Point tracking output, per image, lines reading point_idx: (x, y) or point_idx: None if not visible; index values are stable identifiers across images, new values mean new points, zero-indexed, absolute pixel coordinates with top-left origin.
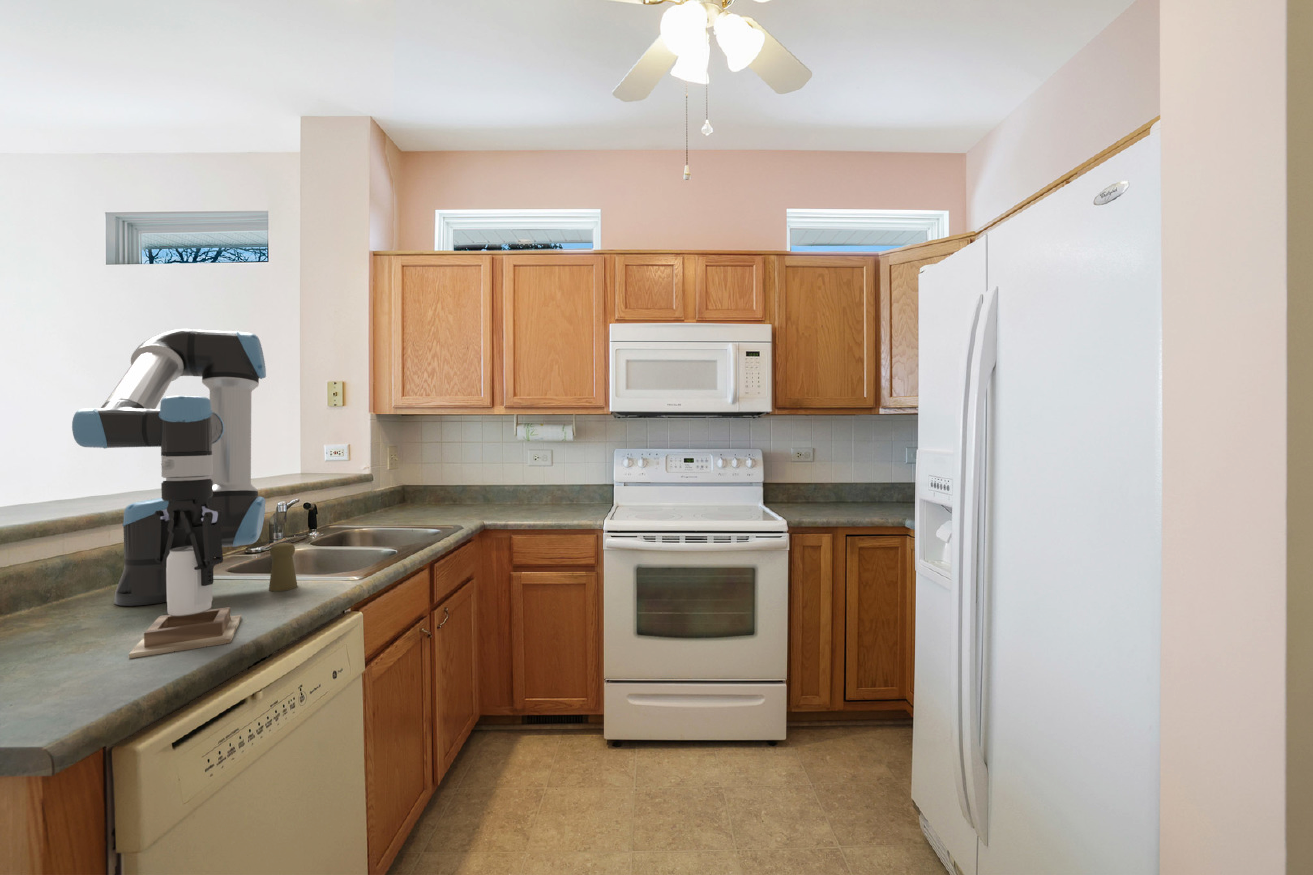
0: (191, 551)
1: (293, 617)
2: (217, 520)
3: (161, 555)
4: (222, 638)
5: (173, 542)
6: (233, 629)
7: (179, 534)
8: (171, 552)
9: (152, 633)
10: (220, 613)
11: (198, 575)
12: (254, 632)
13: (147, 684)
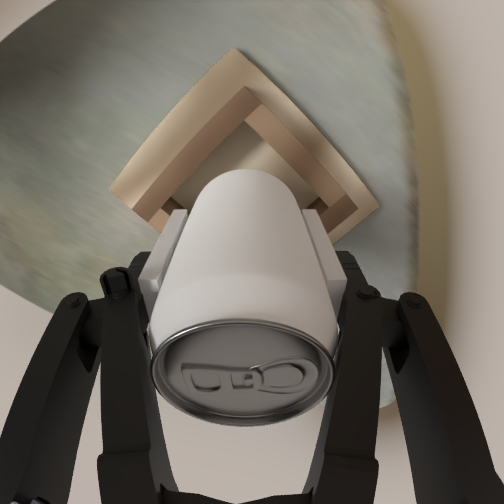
0: (315, 398)
1: (373, 19)
2: (490, 494)
3: (98, 357)
4: (362, 207)
5: (160, 425)
6: (335, 152)
7: (162, 457)
8: (228, 417)
9: None
10: (280, 145)
11: None
12: (374, 133)
13: None
